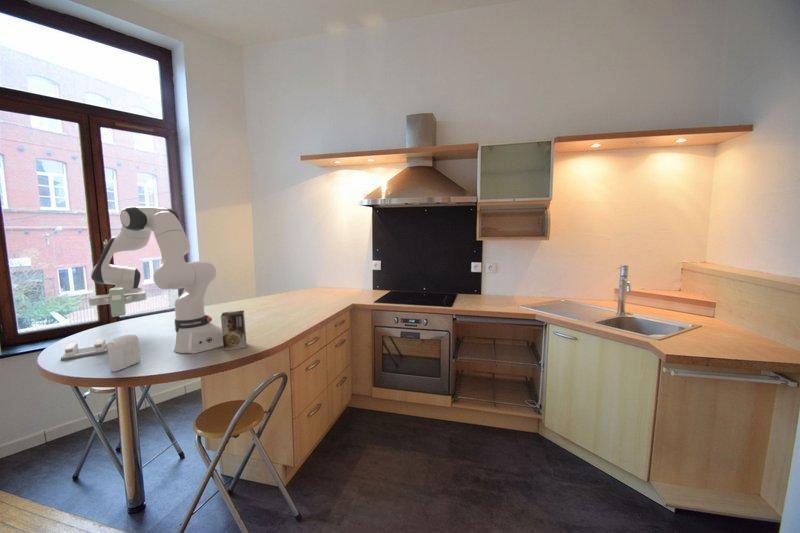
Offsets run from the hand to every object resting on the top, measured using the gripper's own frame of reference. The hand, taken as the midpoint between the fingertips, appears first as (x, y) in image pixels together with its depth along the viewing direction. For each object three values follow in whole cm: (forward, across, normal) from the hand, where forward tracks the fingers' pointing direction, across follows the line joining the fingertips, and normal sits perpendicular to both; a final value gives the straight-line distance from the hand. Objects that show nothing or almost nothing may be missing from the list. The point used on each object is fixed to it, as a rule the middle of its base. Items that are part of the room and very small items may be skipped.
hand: (117, 301), depth 145 cm
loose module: (-1, 0, +6) cm, 7 cm away
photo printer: (+28, +3, +22) cm, 36 cm away
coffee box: (+32, +41, +22) cm, 57 cm away
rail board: (-1, -12, +22) cm, 25 cm away
